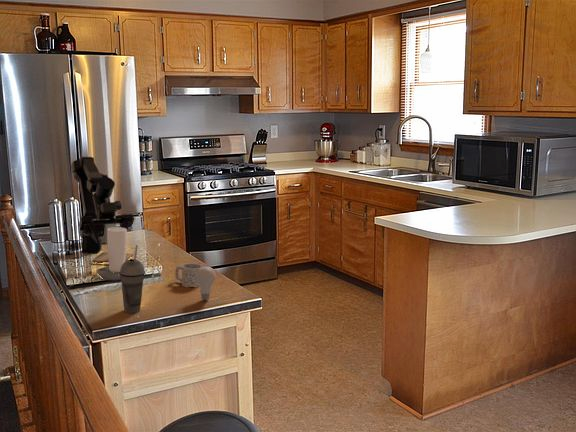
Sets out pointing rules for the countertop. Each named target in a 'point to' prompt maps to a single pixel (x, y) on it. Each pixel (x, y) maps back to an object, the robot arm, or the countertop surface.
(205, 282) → the lightbulb
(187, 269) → the mug
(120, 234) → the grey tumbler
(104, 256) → the square walnut board
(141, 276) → the beverage cup
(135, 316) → the countertop surface
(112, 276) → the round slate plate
